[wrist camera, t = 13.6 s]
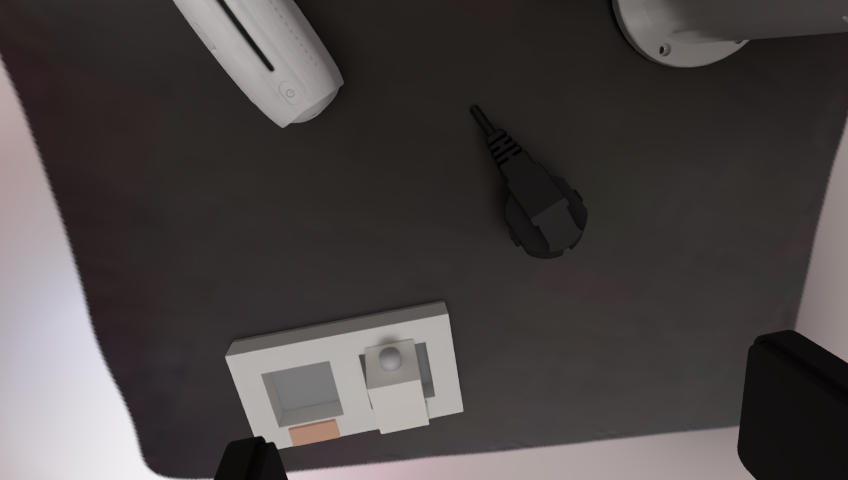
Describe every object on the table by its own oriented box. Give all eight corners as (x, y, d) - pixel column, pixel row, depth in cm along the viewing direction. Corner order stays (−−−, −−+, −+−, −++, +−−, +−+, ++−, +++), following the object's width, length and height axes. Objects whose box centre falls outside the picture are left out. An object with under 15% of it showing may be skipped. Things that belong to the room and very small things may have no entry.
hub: (443, 300, 40) (448, 315, 37) (458, 393, 43) (464, 413, 41) (233, 340, 39) (224, 358, 36) (266, 432, 43) (259, 455, 40)
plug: (422, 384, 41) (411, 330, 37) (429, 424, 38) (418, 371, 34) (378, 392, 41) (362, 340, 37) (381, 434, 38) (364, 381, 34)
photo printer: (354, 87, 33) (346, 95, 22) (306, 121, 34) (272, 148, 22) (258, -55, 30) (187, -134, 18) (206, -15, 30) (103, -67, 19)
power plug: (506, 81, 33) (608, 215, 30) (513, 127, 40) (596, 239, 37) (440, 126, 34) (532, 262, 30) (458, 163, 41) (535, 277, 37)
